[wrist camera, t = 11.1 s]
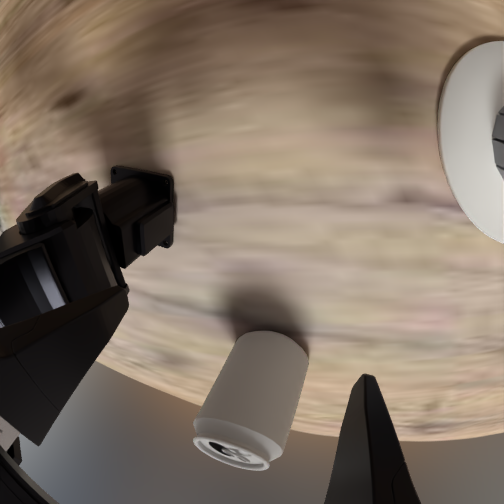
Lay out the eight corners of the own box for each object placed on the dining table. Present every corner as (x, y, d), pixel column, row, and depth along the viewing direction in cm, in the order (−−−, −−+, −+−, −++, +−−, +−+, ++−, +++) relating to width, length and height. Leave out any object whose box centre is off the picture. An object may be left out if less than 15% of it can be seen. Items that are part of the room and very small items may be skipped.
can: (225, 326, 27) (166, 427, 18) (297, 320, 24) (253, 446, 14) (254, 374, 30) (213, 465, 20) (318, 372, 27) (288, 479, 17)
